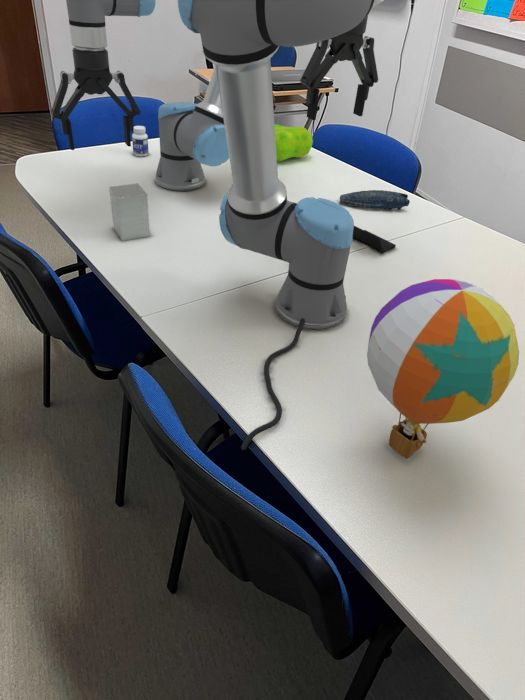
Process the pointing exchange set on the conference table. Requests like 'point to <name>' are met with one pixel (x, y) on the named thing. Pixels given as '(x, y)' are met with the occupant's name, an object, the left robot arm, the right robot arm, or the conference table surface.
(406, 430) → the toy
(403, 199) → the fish model
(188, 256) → the conference table surface
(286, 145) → the decorative tree
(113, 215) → the metal block
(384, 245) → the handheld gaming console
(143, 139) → the pill bottle
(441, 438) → the conference table surface
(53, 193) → the conference table surface
